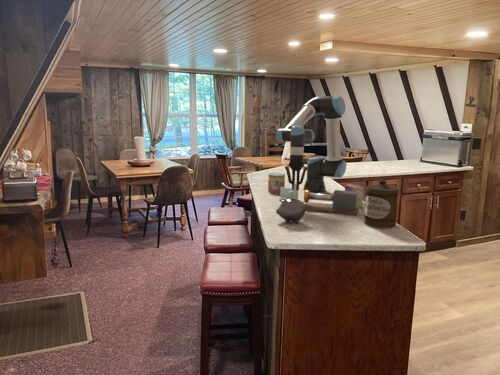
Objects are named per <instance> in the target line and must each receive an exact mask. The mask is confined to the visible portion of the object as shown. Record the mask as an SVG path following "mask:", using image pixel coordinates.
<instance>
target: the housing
mask: <svg viewBox="0 0 500 375" xmlns="http://www.w3.org/2000/svg"><path fill="white" fill-rule="evenodd" d="M332 195H333V201H332V204H333V209H339V210H351V211H355V210H356V200H357V192H355V191H345V190H340V189H337V190H336V189H334V191H333V193H332Z"/></svg>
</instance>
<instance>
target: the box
mask: <svg viewBox="0 0 500 375" xmlns="http://www.w3.org/2000/svg"><path fill="white" fill-rule="evenodd" d="M344 191H355V192H357V200H356V206H358V208H363V206H364V205H363V204H364V186H360V185H356V184H345V185H344Z"/></svg>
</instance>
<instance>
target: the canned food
mask: <svg viewBox="0 0 500 375" xmlns="http://www.w3.org/2000/svg"><path fill="white" fill-rule="evenodd" d="M285 181H286V174H285V173H279V172H272V173H271V172H270V173H268V182H267V183H268V184H267V190H268V191H267V192H268V193H269V194H280V187H284V188H286V187H285V183H286V182H285Z"/></svg>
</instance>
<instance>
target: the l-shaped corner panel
mask: <svg viewBox="0 0 500 375" xmlns="http://www.w3.org/2000/svg"><path fill="white" fill-rule="evenodd" d="M293 193H294V190H292V187H285V188H284V187H280V193H279V198H278V201H280V202H282V201H283V198H286V199H297V200H299V190H297V196H293Z"/></svg>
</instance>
